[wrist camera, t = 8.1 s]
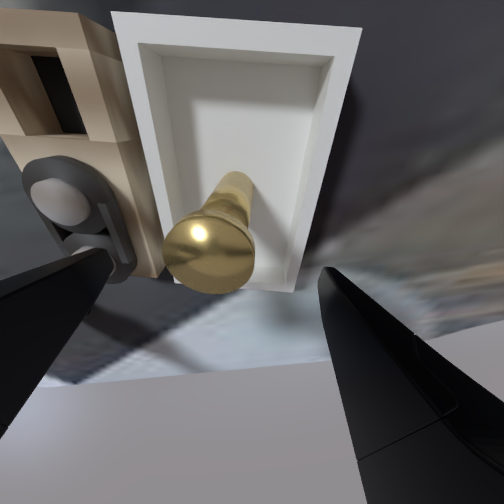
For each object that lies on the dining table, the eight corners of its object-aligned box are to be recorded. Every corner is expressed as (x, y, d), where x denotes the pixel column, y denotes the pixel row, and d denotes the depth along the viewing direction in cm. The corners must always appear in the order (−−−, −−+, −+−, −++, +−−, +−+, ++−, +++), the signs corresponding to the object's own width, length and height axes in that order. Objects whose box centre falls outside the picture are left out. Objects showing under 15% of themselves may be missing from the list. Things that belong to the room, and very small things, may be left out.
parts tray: (289, 270, 22) (293, 292, 20) (186, 261, 23) (174, 283, 20) (339, 48, 12) (362, 27, 9) (146, 35, 12) (110, 10, 9)
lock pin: (257, 213, 18) (251, 297, 10) (214, 209, 18) (171, 290, 10) (261, 166, 15) (258, 224, 7) (211, 162, 15) (151, 216, 7)
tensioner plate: (169, 260, 23) (146, 294, 18) (101, 254, 23) (62, 287, 18) (115, 33, 12) (33, -12, 8) (-10, 24, 12) (-161, -25, 8)
